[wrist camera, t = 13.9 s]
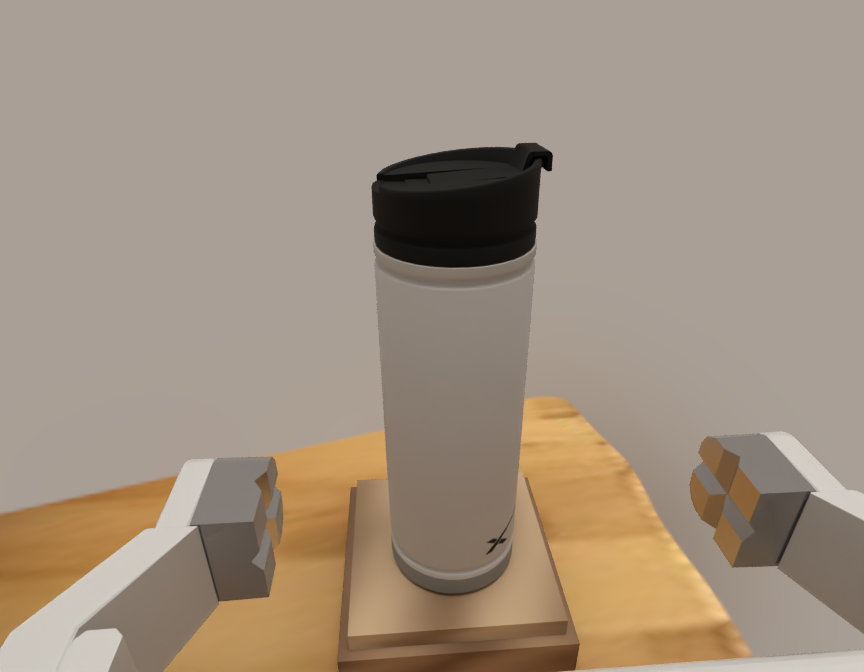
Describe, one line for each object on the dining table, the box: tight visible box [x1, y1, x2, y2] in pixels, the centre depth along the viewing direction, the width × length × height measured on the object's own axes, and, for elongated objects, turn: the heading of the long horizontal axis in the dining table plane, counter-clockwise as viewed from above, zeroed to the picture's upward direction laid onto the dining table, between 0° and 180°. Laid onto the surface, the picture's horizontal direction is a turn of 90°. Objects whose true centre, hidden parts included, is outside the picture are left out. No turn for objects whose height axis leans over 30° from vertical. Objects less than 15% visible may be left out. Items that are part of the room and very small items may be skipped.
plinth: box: [337, 471, 580, 672], centre depth 31 cm, size 11×11×4 cm
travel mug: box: [372, 143, 553, 594], centre depth 25 cm, size 6×7×20 cm
